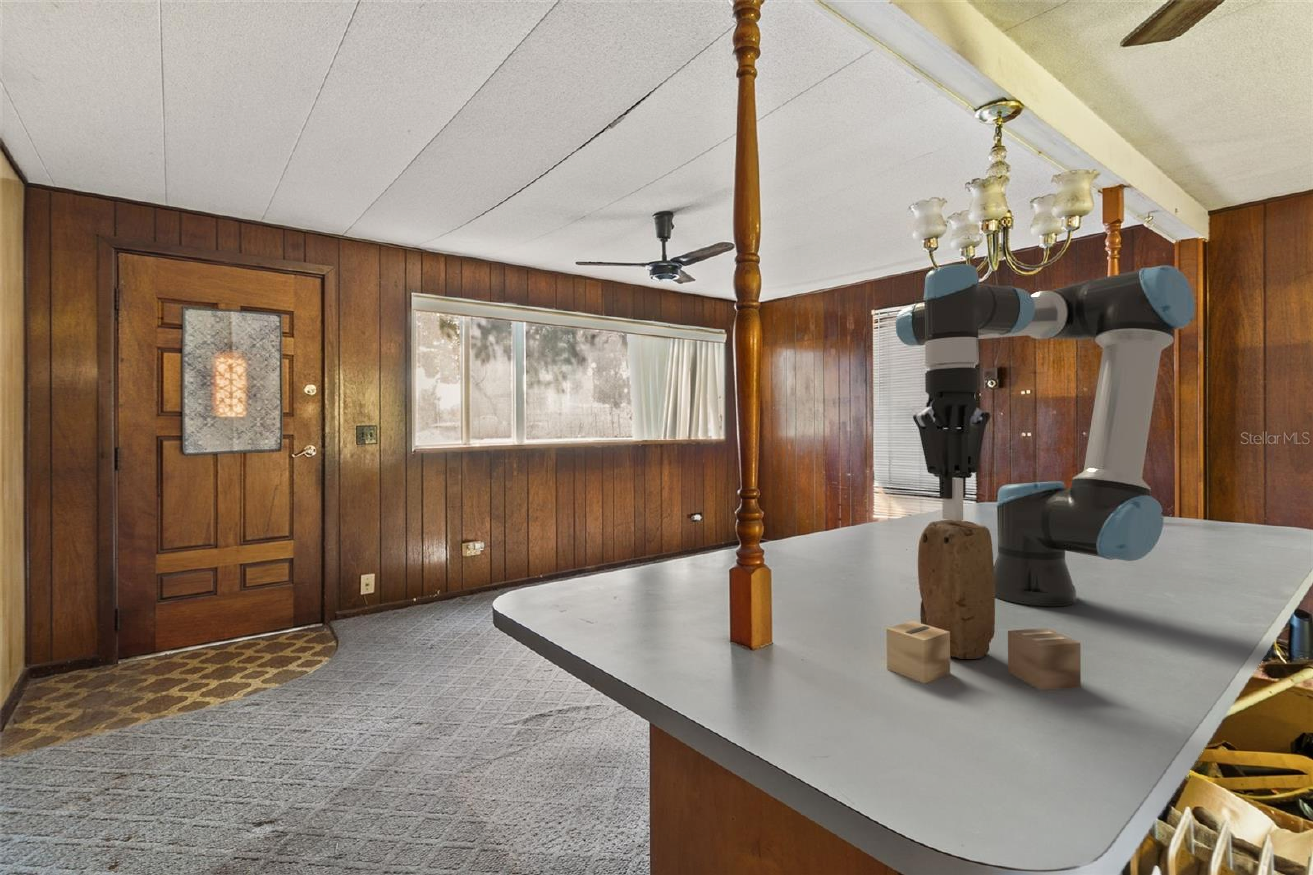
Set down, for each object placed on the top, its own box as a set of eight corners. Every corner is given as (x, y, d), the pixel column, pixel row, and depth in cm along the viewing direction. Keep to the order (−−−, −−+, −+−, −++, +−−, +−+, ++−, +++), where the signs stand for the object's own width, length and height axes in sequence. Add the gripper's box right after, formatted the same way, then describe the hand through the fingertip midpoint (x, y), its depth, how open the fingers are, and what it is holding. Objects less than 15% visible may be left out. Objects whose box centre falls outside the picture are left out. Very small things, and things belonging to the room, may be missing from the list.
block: (1000, 660, 91) (999, 526, 91) (956, 664, 90) (955, 529, 89) (951, 635, 102) (950, 516, 102) (911, 639, 100) (910, 518, 100)
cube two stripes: (1046, 669, 88) (1046, 627, 88) (1080, 687, 82) (1080, 642, 82) (1008, 672, 87) (1007, 630, 87) (1039, 690, 81) (1039, 645, 81)
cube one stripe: (912, 660, 92) (912, 620, 92) (950, 673, 87) (949, 631, 87) (887, 669, 89) (886, 627, 89) (924, 684, 84) (923, 639, 84)
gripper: (966, 370, 100) (967, 513, 101) (900, 370, 97) (901, 518, 97) (1004, 366, 93) (1005, 520, 94) (934, 365, 89) (936, 525, 90)
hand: (952, 519), depth 95 cm, fingers closed
